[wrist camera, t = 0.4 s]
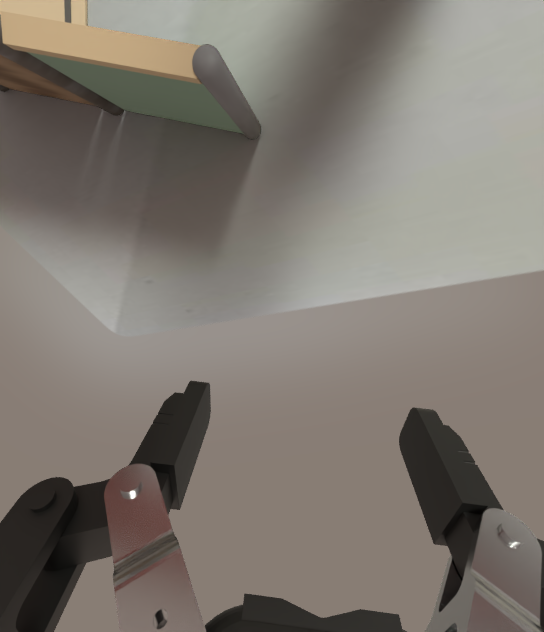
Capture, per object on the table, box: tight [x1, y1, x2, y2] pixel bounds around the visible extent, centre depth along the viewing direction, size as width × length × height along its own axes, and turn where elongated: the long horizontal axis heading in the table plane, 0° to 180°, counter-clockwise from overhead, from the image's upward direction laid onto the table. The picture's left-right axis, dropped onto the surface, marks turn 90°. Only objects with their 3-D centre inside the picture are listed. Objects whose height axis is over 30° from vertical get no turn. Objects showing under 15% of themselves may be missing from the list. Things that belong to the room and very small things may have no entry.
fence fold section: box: [0, 11, 261, 139], centre depth 26 cm, size 16×2×14 cm, turn 78°
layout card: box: [0, 0, 87, 26], centre depth 32 cm, size 9×11×1 cm
